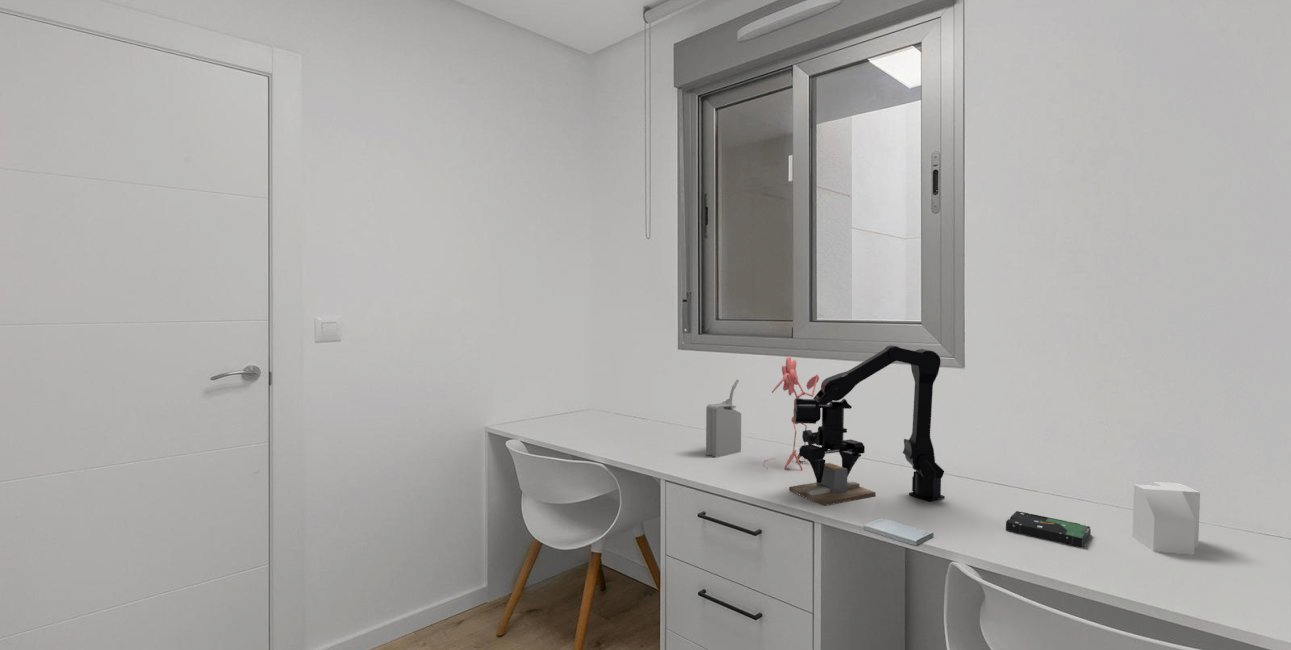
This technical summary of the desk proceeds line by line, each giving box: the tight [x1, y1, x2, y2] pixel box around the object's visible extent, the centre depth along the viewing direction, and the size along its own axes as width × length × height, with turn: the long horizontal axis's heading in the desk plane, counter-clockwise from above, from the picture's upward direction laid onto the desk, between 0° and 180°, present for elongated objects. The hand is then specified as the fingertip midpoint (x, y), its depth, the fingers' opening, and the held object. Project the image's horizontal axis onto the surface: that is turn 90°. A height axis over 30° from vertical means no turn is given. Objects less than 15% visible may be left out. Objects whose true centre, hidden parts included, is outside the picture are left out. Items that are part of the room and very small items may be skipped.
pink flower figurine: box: [762, 356, 820, 471], centre depth 198 cm, size 15×26×35 cm, turn 143°
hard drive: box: [862, 517, 934, 547], centre depth 139 cm, size 2×8×12 cm
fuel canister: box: [705, 379, 742, 458], centre depth 212 cm, size 15×5×25 cm, turn 130°
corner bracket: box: [1131, 481, 1201, 555], centre depth 133 cm, size 11×11×12 cm
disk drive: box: [1005, 510, 1092, 549], centre depth 139 cm, size 10×3×15 cm
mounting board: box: [788, 479, 877, 506], centre depth 168 cm, size 14×18×2 cm
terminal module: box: [815, 462, 848, 494], centre depth 168 cm, size 7×4×7 cm, turn 26°
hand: (831, 480), depth 168 cm, fingers open, 9 cm apart
